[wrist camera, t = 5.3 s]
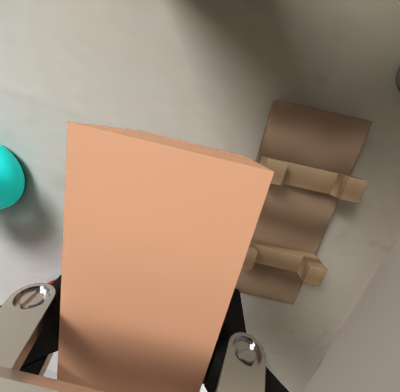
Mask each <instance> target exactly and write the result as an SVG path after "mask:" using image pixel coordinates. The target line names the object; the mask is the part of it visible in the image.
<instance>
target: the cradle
mask: <svg viewBox="0 0 400 392" xmlns="http://www.w3.org/2000/svg"><path fill="white" fill-rule="evenodd" d="M372 123H373V122H371V121H367V120H362V119H358V118H353V117H349V116H344V115H340V114H335V113H331V112H327V111H322V110H318V109H313V108H309V107H304V106H300V105H295V104H291V103H287V102H282V101H278V100H276V101H275V102H273V104H272V108H271V111H270V115H269V118H268V121H267V125H266V128H265V131H264V135H263V138H262V142H261V145H260V148H259V152H258V155H257V159H256V162H257V163H259V164H261V165H262V166H264V167H266V168H268V169H270V170H272V171H274V174H273V177H272V180H271V183H270V186H269V189H268V192H267V195H266V198H265V201H264V204H263V207H262V210H261V213H260V215H259V218H258V221H257V224H256V227H255V230H254V233H253V236H252V239H251V242H250V245H249V248H248V251H247V254H246V257H245V260H244V263H243V265H242V268H241V271H240V274H239V277H238V280H237V283H236V286H235V288H236V289H239V292H243V293H247V294H251V295H256V296H260V297H264V298H268V299H273V300H277V301H281V302H285V303H289V304H294V301H295V299H296V297H297V294H298V292H299V290H300V287H301V285H302V283H307V284H311V285H315V286H320V284H321V282H322V280H323V277H324V275H325V273H326V271H327V269H326V267H325V266H324V265H323V264H322V263H321V262H320V260H319V259H318V258H317V257H316V256H315V253H316V251H317V249H318V246H319V244H320V242H321V239H322V237H323V235H324V233H325V230H326V228H327V226H328V223H329V221H330V219H331V217H332V214H333V212H334V210H335V207H336V205H337V203H338V201H339V199H341V200H346V201H350V202H354V203H359V201H360V199H361V196H362V194H363V192H364V190H365V188H366V186H367V184H368V182H369V181H366V180H363V179H359V178H355V177H352V176H349V175H350V173H351V171H352V169H353V166H354V164H355V162H356V159H357V157H358V155H359V153H360V150H361V148H362V146H363V143H364V141H365V139H366V137H367V134H368V132H369V130H370V127H371V125H372Z"/></svg>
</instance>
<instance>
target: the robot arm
mask: <svg viewBox="0 0 400 392" xmlns="http://www.w3.org/2000/svg"><path fill="white" fill-rule="evenodd" d="M61 276H62V275H60V276H59V277H58V278H57V279H56V280H55V281H54V282H53V283H51V284H46V283H35V284H31V285H27V286H25V287H22V288H20V289H19V290H17V291H15V292H14V293H13V294H12V295H11V296H10V297H9V298H8V299H7V300H6V302H5V303H4V304H3V305H1V306H0V392H103V391H99V390H95V389H91V388H87V387H84V386H80V385H76V384H72V383H68V382H64V381H60V380H55V379H51V378H47V377H43V375H44V373H45V371H46V368H47V366H48V364H49V362H50V360H51V357H52V355H53V352H56V351H58V348H59V324H60V300H61ZM202 384H204V387H205V388H206V390H207V392H289V391H288V390H287V389H286V388H285V387H284V386H283V385H282V384H281V383H280V382H279V381H278V379H277V378H276V377H275V376H274V375H273V374H272V373H271V372H270V371H269V370H268V368H267V367H266V356H265V352H264V350H263V347H262V346H261V344H260V343H259V342H258V341H257V340H256V339H255V338H254V337H252V336H251V335H249V334H247V333H246V329H245V322H244V316H243V310H242V304H241V297H240V292H239V289H236V288H235V289H234V292H233V295H232V298H231V301H230V304H229V307H228V310H227V313H226V315H225V318H224V321H223V324H222V327H221V330H220V333H219V336H218V339H217V342H216V345H215V348H214V351H213V354H212V357H211V360H210V363H209V365H208V368H207V371H206V374H205V377H204V380H203V383H202Z"/></svg>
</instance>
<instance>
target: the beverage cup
mask: <svg viewBox="0 0 400 392" xmlns="http://www.w3.org/2000/svg"><path fill="white" fill-rule="evenodd" d="M396 83H397V86H398V88H399V90H400V67H399V69H398V72H397V76H396Z"/></svg>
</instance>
